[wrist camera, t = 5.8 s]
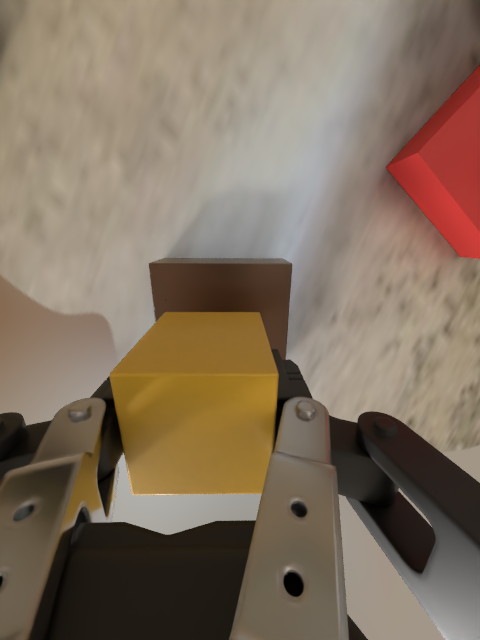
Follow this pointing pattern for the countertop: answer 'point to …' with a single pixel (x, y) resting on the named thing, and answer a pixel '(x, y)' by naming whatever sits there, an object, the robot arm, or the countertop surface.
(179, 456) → the yellow block
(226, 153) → the countertop surface
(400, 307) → the countertop surface
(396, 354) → the countertop surface
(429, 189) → the red block
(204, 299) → the walnut block
